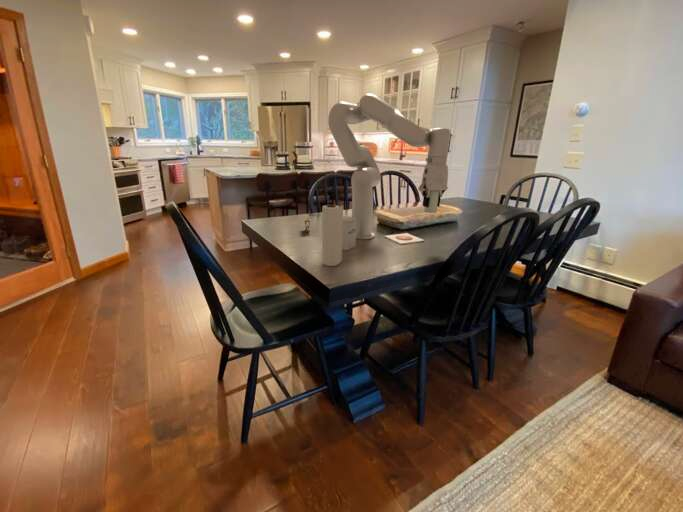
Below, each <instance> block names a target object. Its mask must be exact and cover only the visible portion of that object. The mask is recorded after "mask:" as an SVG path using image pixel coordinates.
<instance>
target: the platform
mask: <svg viewBox="0 0 683 512" xmlns="http://www.w3.org/2000/svg"><path fill="white" fill-rule="evenodd" d="M302 223H303V226H304V227H305V233H306V234H307V231H310V226H313V221H312V220H311V219H310V218H309V217H306V219H303V222H302Z"/></svg>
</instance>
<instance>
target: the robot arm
mask: <svg viewBox="0 0 683 512" xmlns="http://www.w3.org/2000/svg"><path fill="white" fill-rule="evenodd" d="M327 121H328V122H327V123H328V128H329V130H330V133H331V135H332V137H333V139H334V141H335V143H336V145H337V148H338V150H339V152H340V154H341V157H342V158H343V160H344V162H345V164H346V166H348V167H350V168H356V170H354V172H353V173H352V175H351V180H350V182H351V183H350V185H351V193H352V196H351V197H352V200H351V201H352V202H351V203H352V205H351V206H352V207H351V208H352V209H351V217H353V218H357V222H356V240H372V239H374V238H375V232H372V231H373V230H372V227H373V226H372V225H373V212H374V211H373V210H374V209H373V208H374V193H373V192H374V191H373V187H376V186H378V185H379V183H380V182H381V179H382V178H381V177H382V176H381V172H380V169H379V167H378V165H377V162H376V160H375V158H374V155H373V153H372V151H371V150H370V149H369V147H368V146H366V145H363V144H359V142H358V141H357V139H356V137H355V135H354V132H353V131H352V129H351V128H350V127H349V125H357V124H361V123H364V122H367V121H374V122H375V123H377V124H378V125H379V126H381V127H383V128H384V129H386V130H387V131H388V132H390V133H391V134H392V135H393V136H395V137H396V138H398V139H399V140H400V141H402V142H404V143H406V144H407V145H409V146H411V147H413V148H425V147H428V150H427V157H426V158H425V162H426V164H425V165H424V166H425V167H424V169H423V172H422V176H421V177H422V178H421V179H422V180H421V184H420V185H419V186H418V188H417V190H418V191H419V192H420V194H421V196H422V197H423V201H422V207H424V208H425V207H429V201H430V198H429V195H430V192H431V191H434V190H440V191H439V197H438V204H437V207H440V205H441V204H440V203H441V198H442V197H443V195H444V193H445V192H446V191H447V190H448V188H449V187H448V178H449V167H448V164H447V160H448V154H449V145H450V138H451V130H450V129H449V128H446V127H435V128H427V127H424V126H419V125H417V124H416V123H414V122H412V121H411V120H409V119H408V118H406V117H405V116H404V115H403V114H401V112H400V110H399V109H398V108H396V107H395V106H393V105H391V104H389V103H388V102H386V101H384V99H383V98H382V97H381V96H379V95H375V94H373V93H367V94H366V93H365V94H364V95H362V97H361V98H360V100H359V102H356V103H351V102H347V101H340V102H339V101H338V102H337V103H335V104H333V106H332V107H331V108H330V110H329V113H328V119H327Z"/></svg>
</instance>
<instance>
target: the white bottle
mask: <svg viewBox="0 0 683 512" xmlns="http://www.w3.org/2000/svg"><path fill="white" fill-rule="evenodd" d="M356 222H357V218H353V217H352V216H345V215H343V238H342V251H346V250H347V251H348V250H350V249H353V248H355V247H356V244H357V243H356V242H357V239H356Z"/></svg>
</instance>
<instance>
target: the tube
mask: <svg viewBox="0 0 683 512" xmlns="http://www.w3.org/2000/svg"><path fill="white" fill-rule="evenodd" d="M439 191H440V190H434V191H431V192H430V195H429V198H430V201H429V207H424V210H423V212H425V213H428V214H435V213H437V210H438V206H437V204H438V197H439Z"/></svg>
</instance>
